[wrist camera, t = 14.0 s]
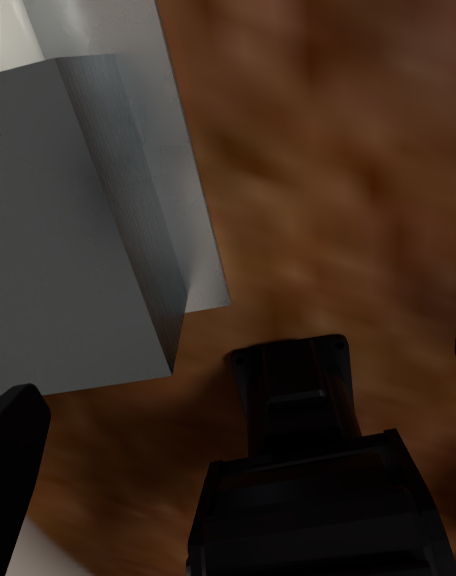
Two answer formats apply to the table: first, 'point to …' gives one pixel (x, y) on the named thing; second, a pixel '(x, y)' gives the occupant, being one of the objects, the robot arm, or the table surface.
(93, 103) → the grey slotted base
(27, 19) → the cube-topped plunger
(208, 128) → the table surface
